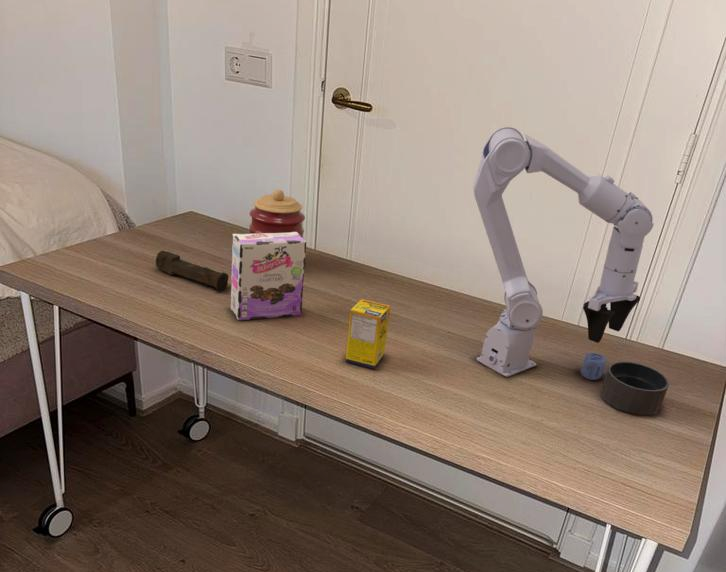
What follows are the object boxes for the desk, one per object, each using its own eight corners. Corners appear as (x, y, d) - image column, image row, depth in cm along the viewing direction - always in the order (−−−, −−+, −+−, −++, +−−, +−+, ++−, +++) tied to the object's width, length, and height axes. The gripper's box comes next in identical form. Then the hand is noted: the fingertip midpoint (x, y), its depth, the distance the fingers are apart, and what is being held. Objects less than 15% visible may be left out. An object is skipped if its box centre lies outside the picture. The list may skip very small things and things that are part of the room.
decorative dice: (579, 376, 140) (584, 358, 138) (581, 368, 143) (587, 350, 141) (599, 382, 139) (605, 364, 137) (601, 373, 142) (607, 356, 140)
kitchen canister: (299, 275, 168) (304, 200, 159) (244, 269, 168) (246, 194, 159) (303, 256, 180) (308, 185, 170) (252, 250, 179) (254, 179, 170)
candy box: (237, 321, 144) (239, 243, 135) (229, 309, 148) (231, 232, 140) (302, 316, 150) (307, 240, 141) (292, 304, 154) (297, 230, 145)
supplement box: (384, 357, 138) (391, 305, 132) (374, 370, 133) (381, 316, 127) (355, 349, 139) (361, 297, 133) (344, 362, 134) (350, 309, 129)
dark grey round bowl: (639, 423, 127) (649, 397, 124) (588, 395, 134) (596, 370, 131) (670, 406, 134) (680, 381, 131) (619, 381, 140) (628, 356, 137)
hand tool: (229, 288, 157) (230, 268, 155) (217, 293, 154) (218, 273, 152) (165, 265, 165) (164, 246, 162) (152, 269, 162) (151, 250, 159)
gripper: (620, 283, 123) (603, 353, 130) (659, 264, 132) (641, 331, 139) (584, 271, 127) (570, 340, 134) (624, 254, 136) (609, 319, 143)
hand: (604, 334), depth 137 cm, fingers open, 7 cm apart
